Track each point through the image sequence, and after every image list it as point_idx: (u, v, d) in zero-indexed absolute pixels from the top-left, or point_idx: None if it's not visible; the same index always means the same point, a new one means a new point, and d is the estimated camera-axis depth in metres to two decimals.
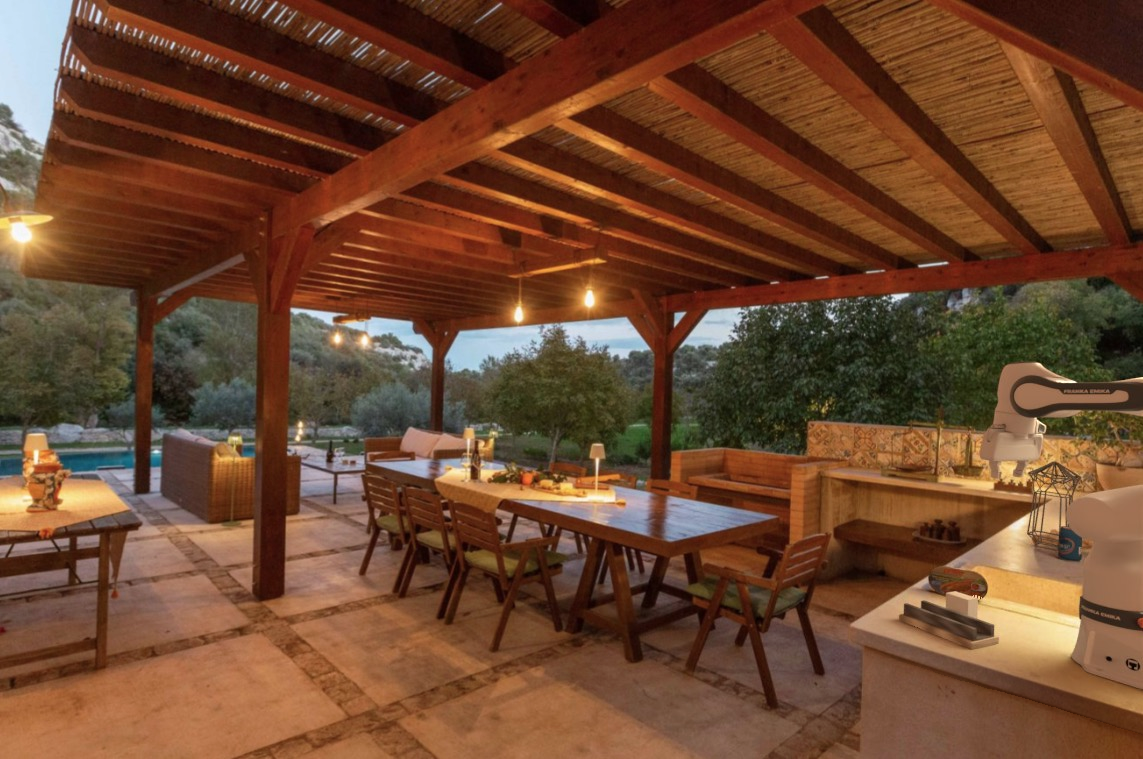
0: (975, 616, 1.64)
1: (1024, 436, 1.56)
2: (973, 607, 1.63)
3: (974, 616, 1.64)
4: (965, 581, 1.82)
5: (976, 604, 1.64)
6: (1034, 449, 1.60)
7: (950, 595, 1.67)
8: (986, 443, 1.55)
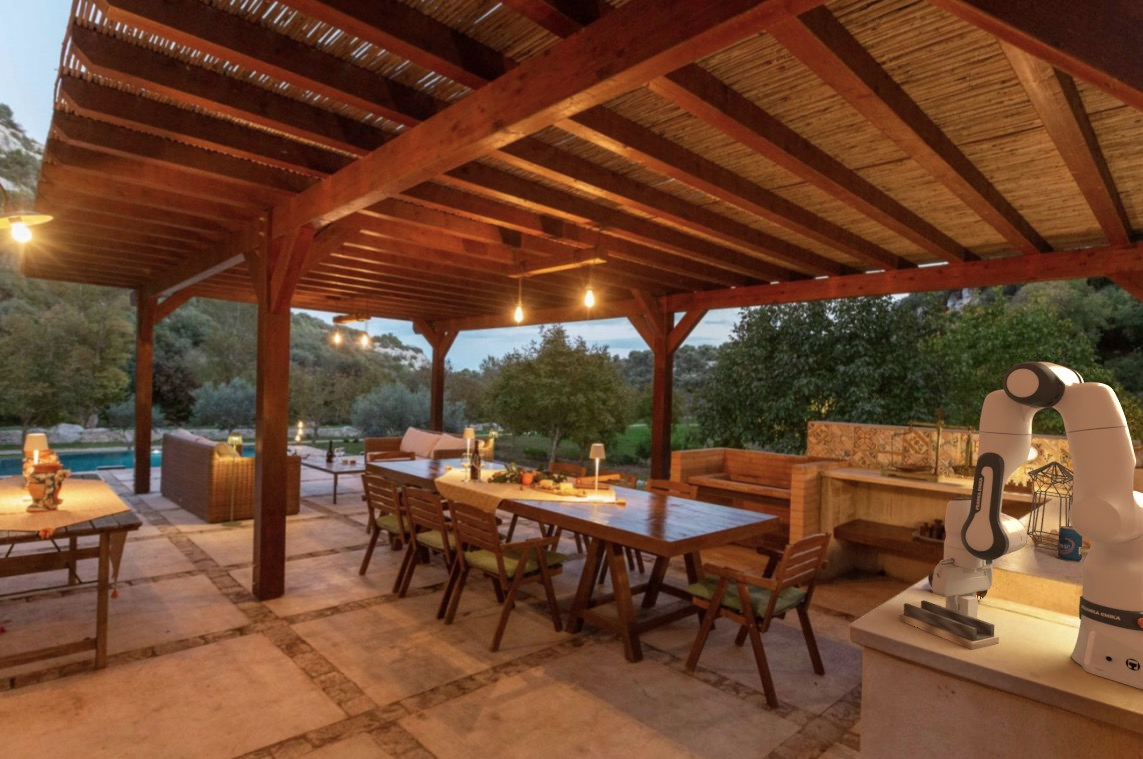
0: (975, 616, 1.64)
1: (973, 570, 1.63)
2: (973, 607, 1.63)
3: (974, 616, 1.64)
4: None
5: (976, 604, 1.64)
6: (985, 579, 1.67)
7: None
8: (937, 579, 1.62)
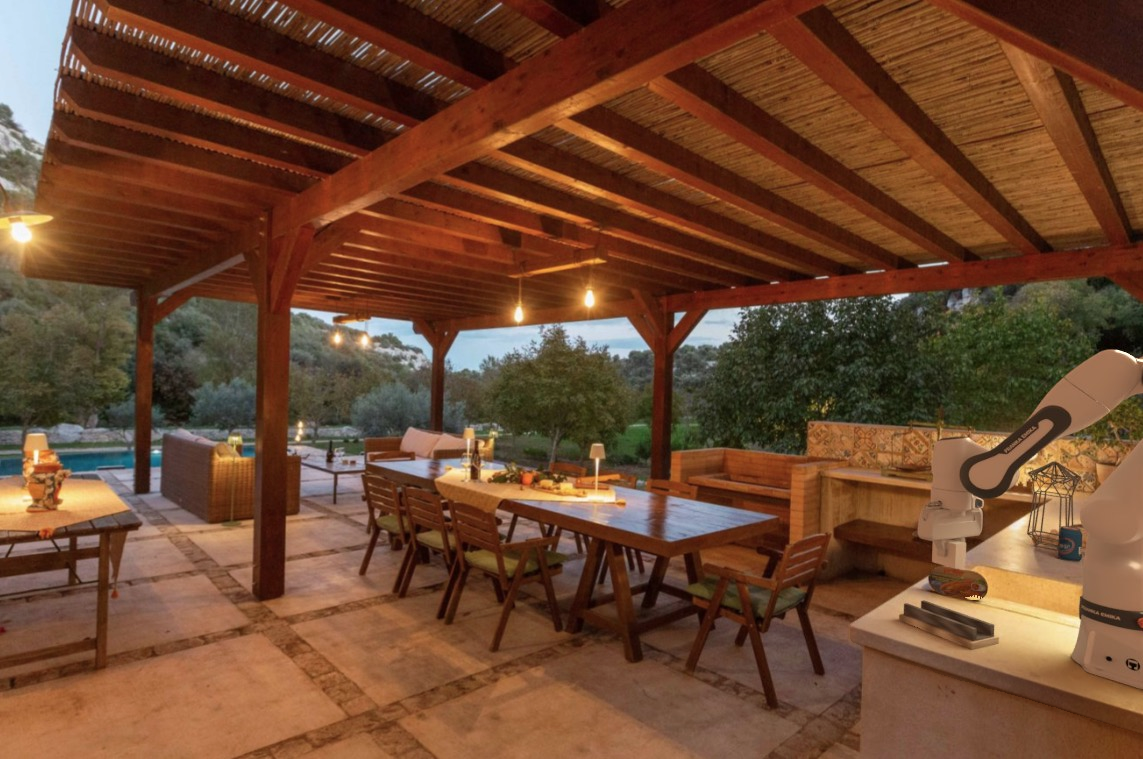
0: (963, 562, 1.54)
1: (961, 512, 1.53)
2: (961, 552, 1.53)
3: (962, 562, 1.54)
4: (965, 581, 1.82)
5: (965, 549, 1.54)
6: (974, 524, 1.57)
7: None
8: (923, 522, 1.52)
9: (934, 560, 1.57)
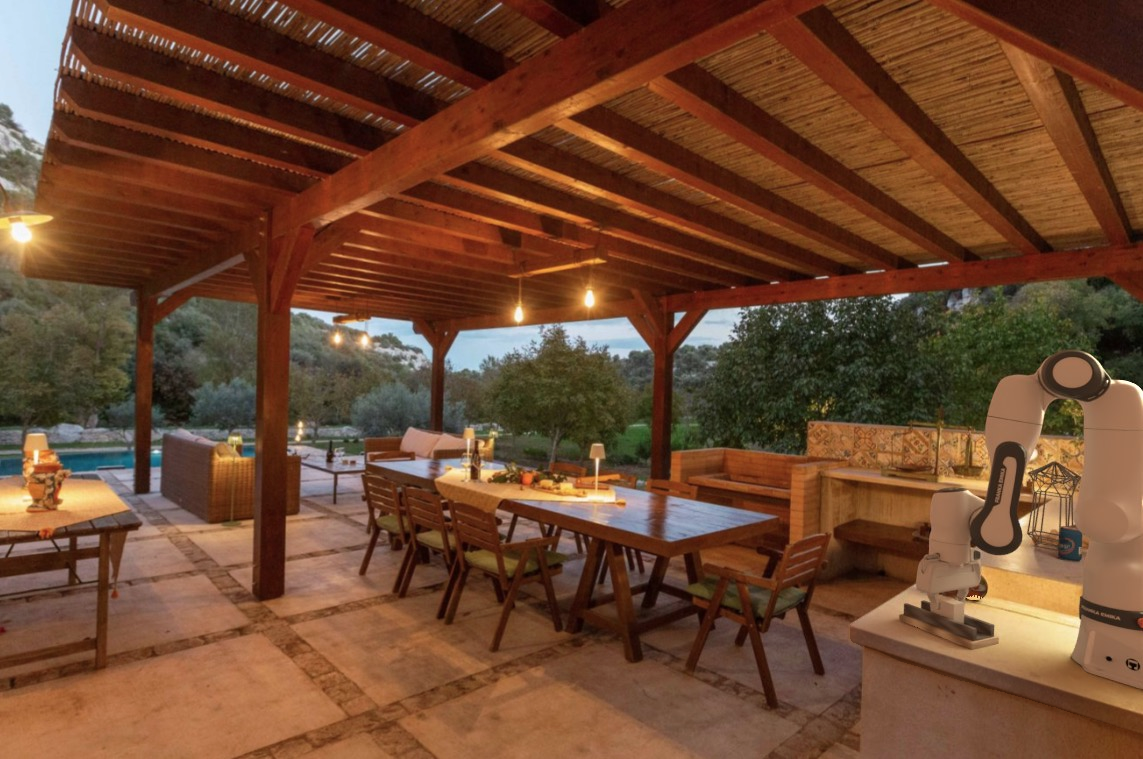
0: (961, 622, 1.53)
1: (959, 565, 1.53)
2: (959, 612, 1.53)
3: (960, 622, 1.53)
4: None
5: (963, 609, 1.54)
6: (973, 575, 1.57)
7: None
8: (921, 575, 1.52)
9: None
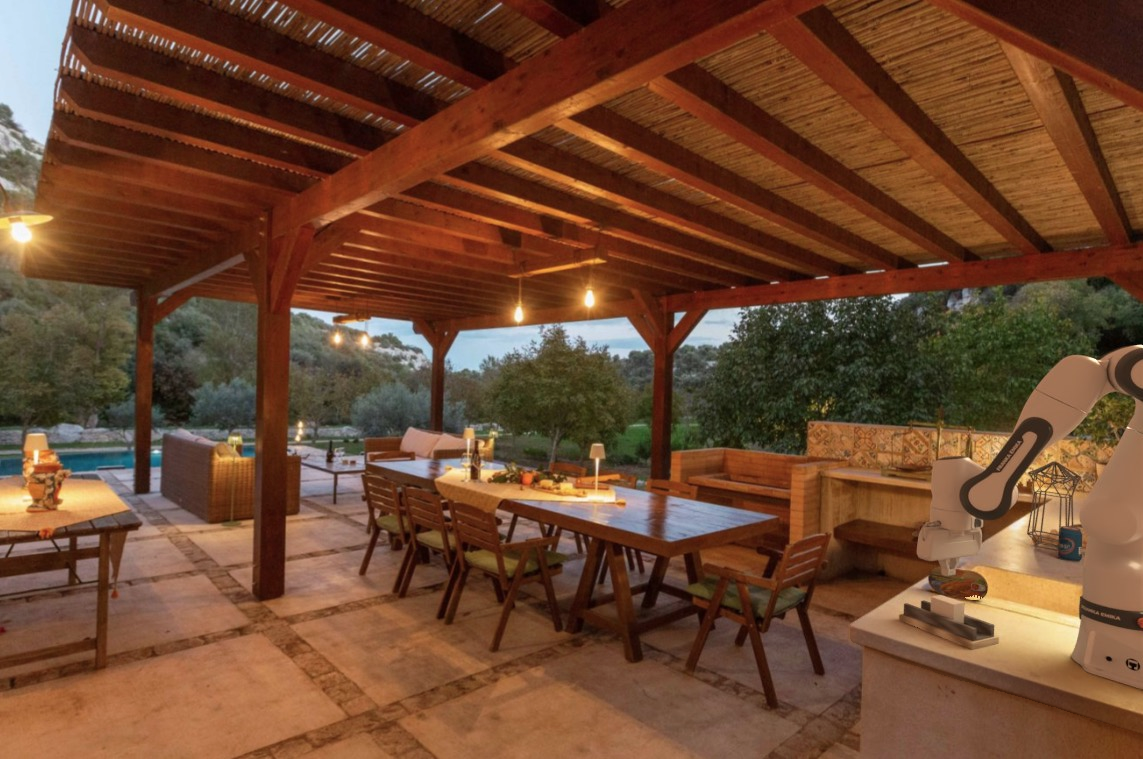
0: (961, 622, 1.53)
1: (960, 533, 1.53)
2: (959, 612, 1.53)
3: (960, 622, 1.53)
4: (965, 581, 1.82)
5: (963, 609, 1.54)
6: (974, 543, 1.57)
7: (935, 599, 1.56)
8: (922, 542, 1.52)
9: None
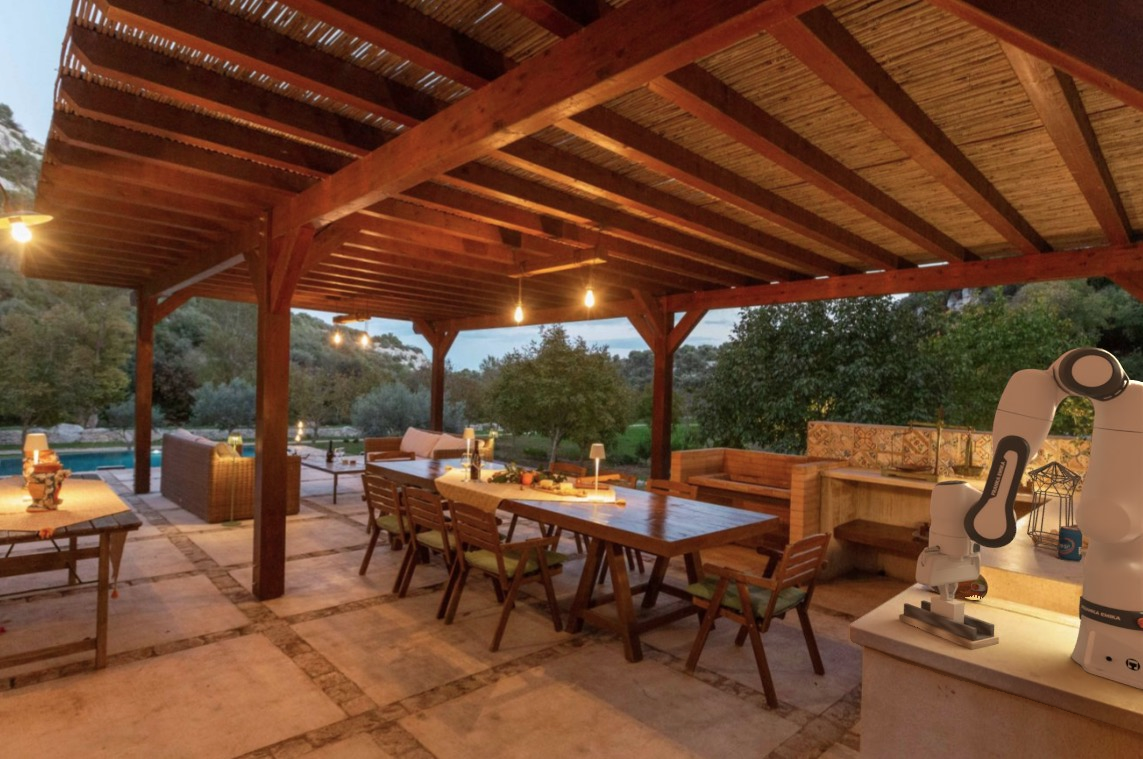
0: (961, 622, 1.53)
1: (959, 558, 1.53)
2: (959, 612, 1.53)
3: (960, 622, 1.53)
4: (965, 581, 1.82)
5: (963, 609, 1.54)
6: (972, 568, 1.57)
7: (935, 599, 1.56)
8: (921, 567, 1.52)
9: None
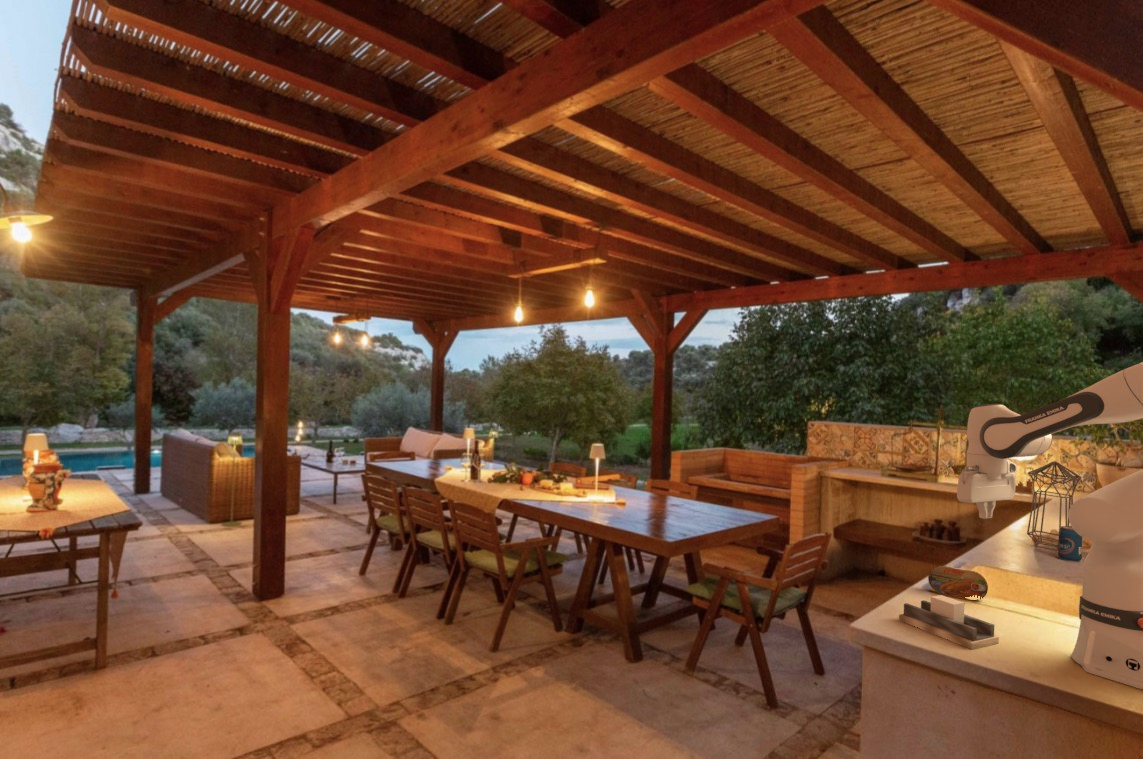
0: (961, 622, 1.53)
1: (997, 476, 1.60)
2: (959, 612, 1.53)
3: (960, 622, 1.53)
4: (965, 581, 1.82)
5: (963, 609, 1.54)
6: (1008, 488, 1.65)
7: (935, 599, 1.56)
8: (962, 485, 1.59)
9: None
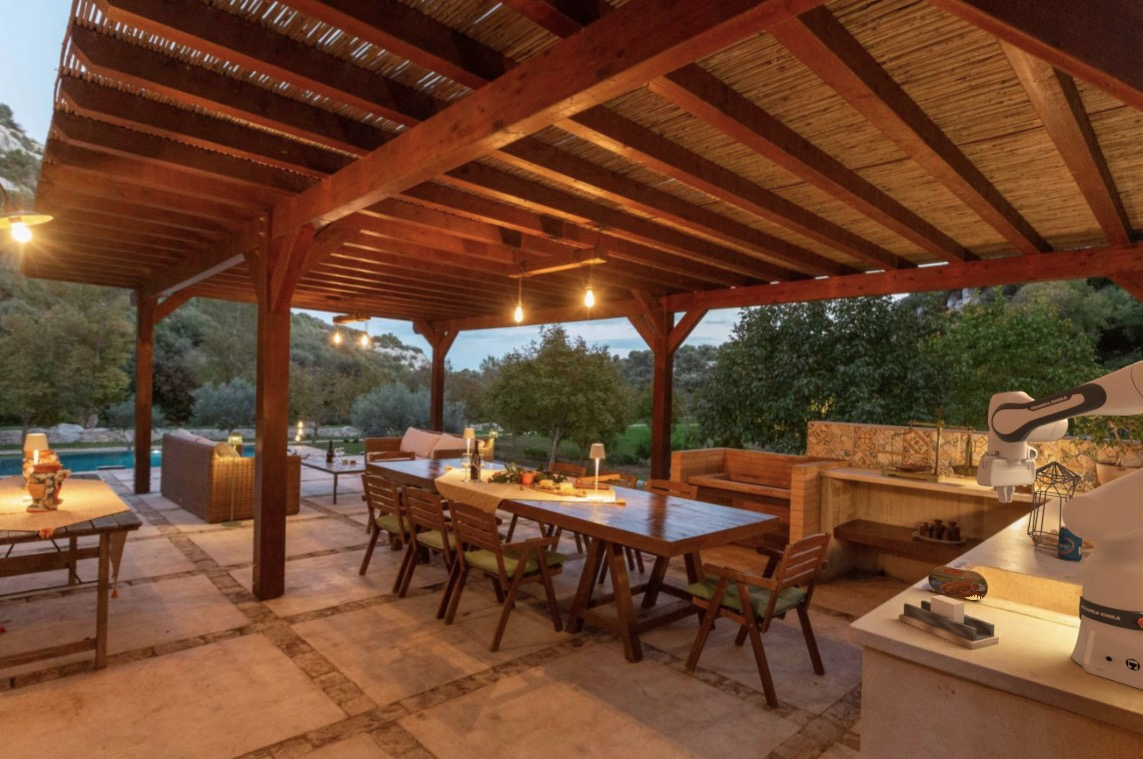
0: (961, 622, 1.53)
1: (1017, 461, 1.64)
2: (959, 612, 1.53)
3: (960, 622, 1.53)
4: (965, 581, 1.82)
5: (963, 609, 1.54)
6: (1028, 473, 1.69)
7: (935, 599, 1.56)
8: (982, 470, 1.64)
9: None
